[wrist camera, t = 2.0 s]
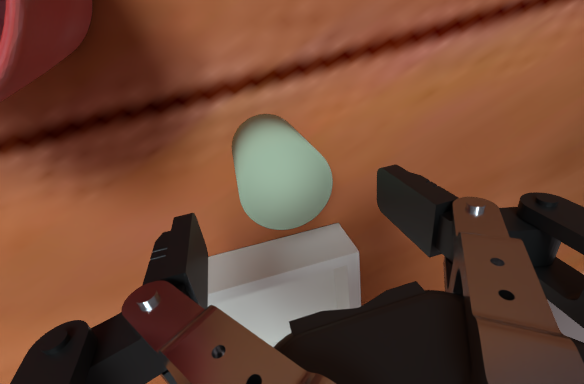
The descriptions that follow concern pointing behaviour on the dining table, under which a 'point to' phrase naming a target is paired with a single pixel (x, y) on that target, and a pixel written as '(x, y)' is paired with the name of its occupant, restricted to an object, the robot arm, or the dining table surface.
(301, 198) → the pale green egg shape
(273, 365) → the robot arm
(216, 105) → the dining table surface
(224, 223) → the dining table surface
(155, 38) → the dining table surface
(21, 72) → the flower pot
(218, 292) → the serving dish
